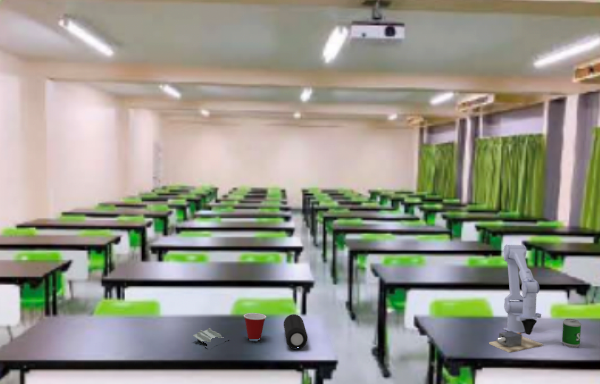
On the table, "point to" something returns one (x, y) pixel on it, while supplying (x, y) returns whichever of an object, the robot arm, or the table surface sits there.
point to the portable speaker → (295, 331)
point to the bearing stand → (514, 342)
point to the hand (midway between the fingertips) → (528, 334)
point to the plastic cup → (254, 324)
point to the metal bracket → (207, 335)
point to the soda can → (571, 333)
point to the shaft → (502, 339)
